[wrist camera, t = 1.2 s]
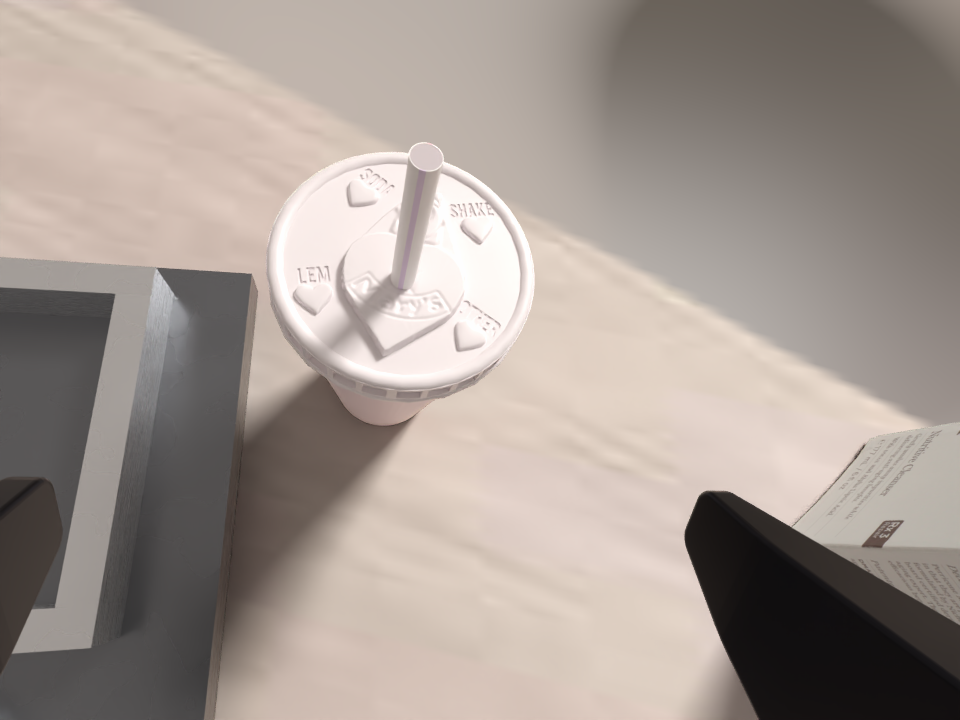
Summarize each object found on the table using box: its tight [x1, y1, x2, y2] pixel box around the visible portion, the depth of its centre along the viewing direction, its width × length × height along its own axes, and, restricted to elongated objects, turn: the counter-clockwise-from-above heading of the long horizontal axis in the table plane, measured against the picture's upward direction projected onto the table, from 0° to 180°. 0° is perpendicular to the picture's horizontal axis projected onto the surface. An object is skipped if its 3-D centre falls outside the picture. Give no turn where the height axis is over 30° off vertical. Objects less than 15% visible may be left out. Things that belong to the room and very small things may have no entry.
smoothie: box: [266, 142, 534, 426], centre depth 15 cm, size 6×6×14 cm
